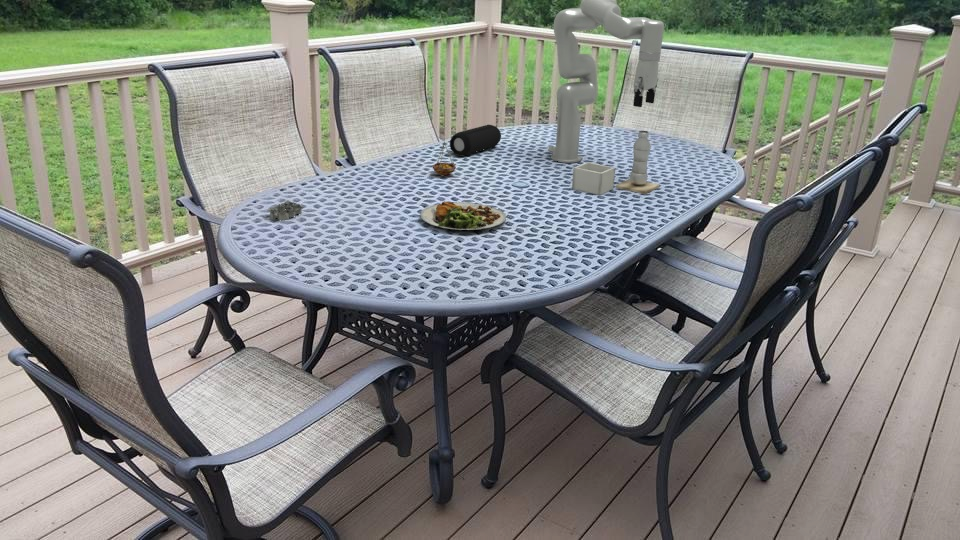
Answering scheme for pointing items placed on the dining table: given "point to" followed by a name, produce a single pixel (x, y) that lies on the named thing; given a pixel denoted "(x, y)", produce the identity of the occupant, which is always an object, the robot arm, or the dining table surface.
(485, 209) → the plate of food
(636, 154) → the plastic bottle
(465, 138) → the portable speaker
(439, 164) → the bird feeder
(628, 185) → the pad
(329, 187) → the dining table surface
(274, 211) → the dark grey rough lump
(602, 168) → the bin
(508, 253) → the dining table surface
